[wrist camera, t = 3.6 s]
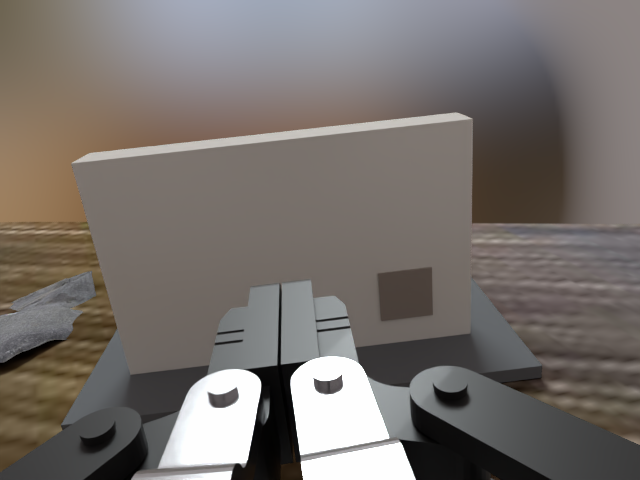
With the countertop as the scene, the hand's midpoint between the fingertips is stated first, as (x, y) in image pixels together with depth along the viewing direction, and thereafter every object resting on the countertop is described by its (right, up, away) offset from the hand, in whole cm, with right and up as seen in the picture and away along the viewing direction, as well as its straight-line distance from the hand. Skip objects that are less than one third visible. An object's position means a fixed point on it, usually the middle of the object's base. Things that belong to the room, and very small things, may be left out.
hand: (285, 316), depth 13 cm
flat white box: (0, -3, +12) cm, 12 cm away
